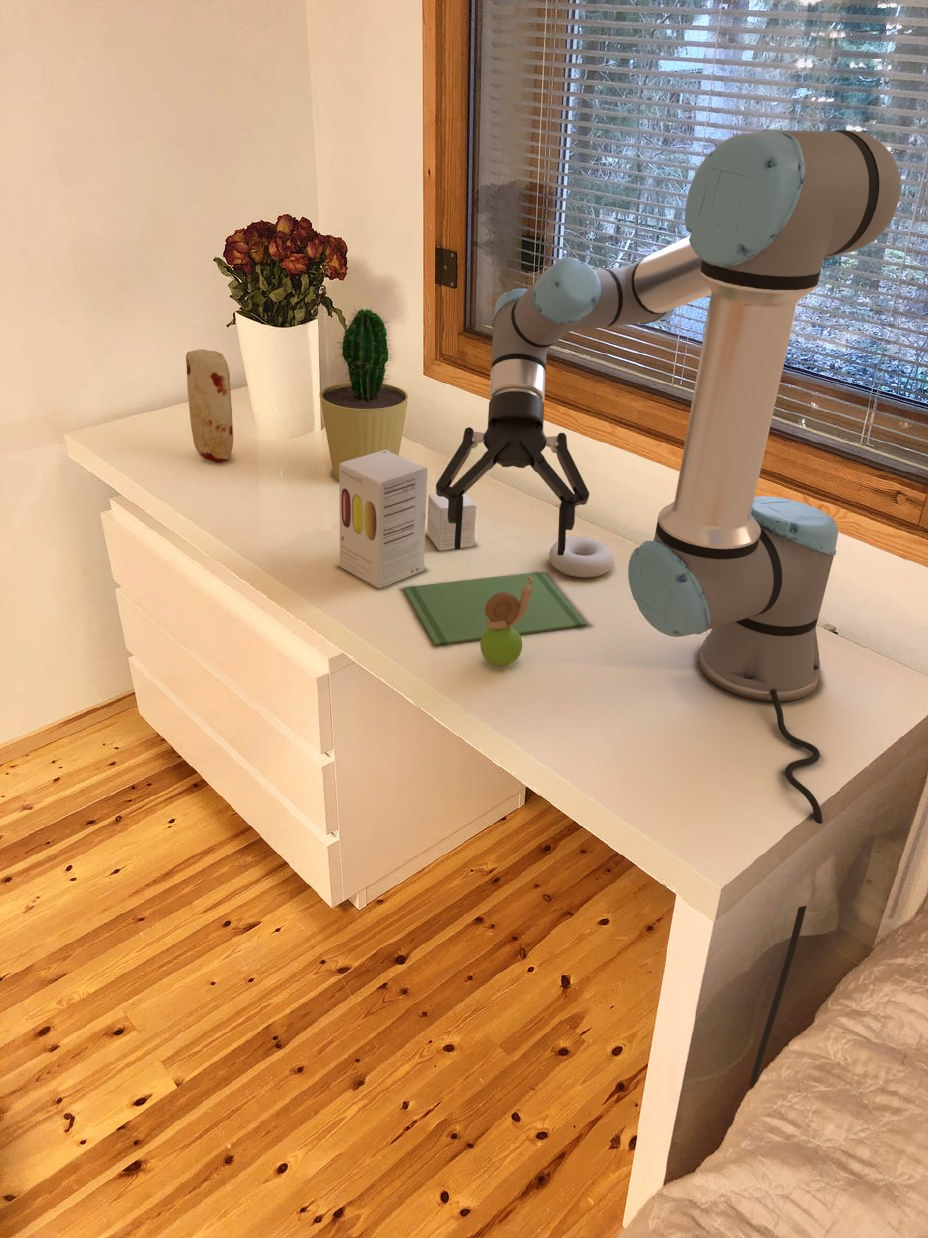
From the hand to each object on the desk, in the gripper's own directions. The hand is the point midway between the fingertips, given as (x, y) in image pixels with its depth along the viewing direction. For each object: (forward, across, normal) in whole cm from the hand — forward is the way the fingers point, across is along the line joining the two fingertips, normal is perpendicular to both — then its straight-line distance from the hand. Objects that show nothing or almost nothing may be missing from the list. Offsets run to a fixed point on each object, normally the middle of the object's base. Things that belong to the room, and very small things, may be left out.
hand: (509, 549), depth 136 cm
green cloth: (+4, +2, -14) cm, 14 cm away
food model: (-31, +54, -49) cm, 79 cm away
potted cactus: (-29, +26, -47) cm, 60 cm away
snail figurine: (+14, 0, -4) cm, 15 cm away
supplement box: (-3, +18, -21) cm, 28 cm away
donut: (-6, -12, -24) cm, 27 cm away
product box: (-10, +9, -29) cm, 32 cm away
